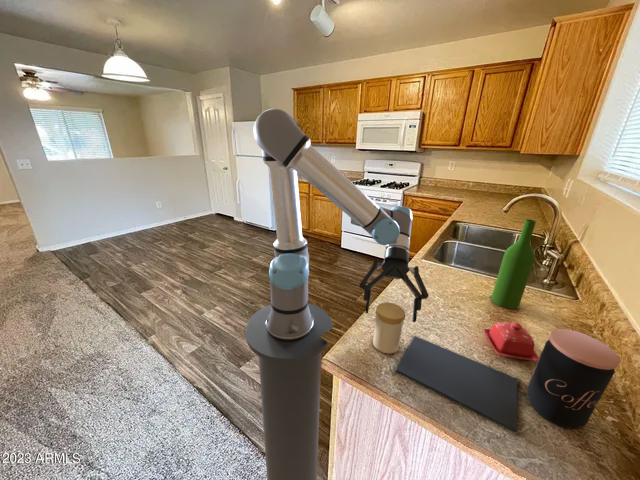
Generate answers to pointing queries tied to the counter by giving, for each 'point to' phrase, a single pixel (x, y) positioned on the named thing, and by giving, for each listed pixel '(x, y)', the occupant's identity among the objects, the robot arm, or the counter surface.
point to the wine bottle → (515, 270)
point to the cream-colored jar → (387, 336)
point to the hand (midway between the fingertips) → (389, 316)
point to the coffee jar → (571, 377)
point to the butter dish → (511, 341)
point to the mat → (462, 381)
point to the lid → (390, 313)
